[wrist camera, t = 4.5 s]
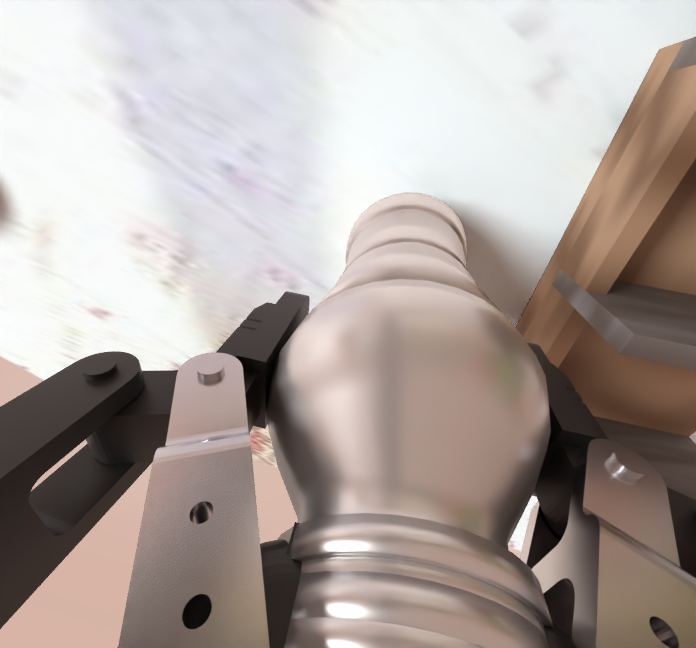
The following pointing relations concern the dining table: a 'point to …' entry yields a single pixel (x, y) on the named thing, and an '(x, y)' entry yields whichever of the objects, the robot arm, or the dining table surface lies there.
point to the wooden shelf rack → (634, 279)
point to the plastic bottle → (410, 447)
